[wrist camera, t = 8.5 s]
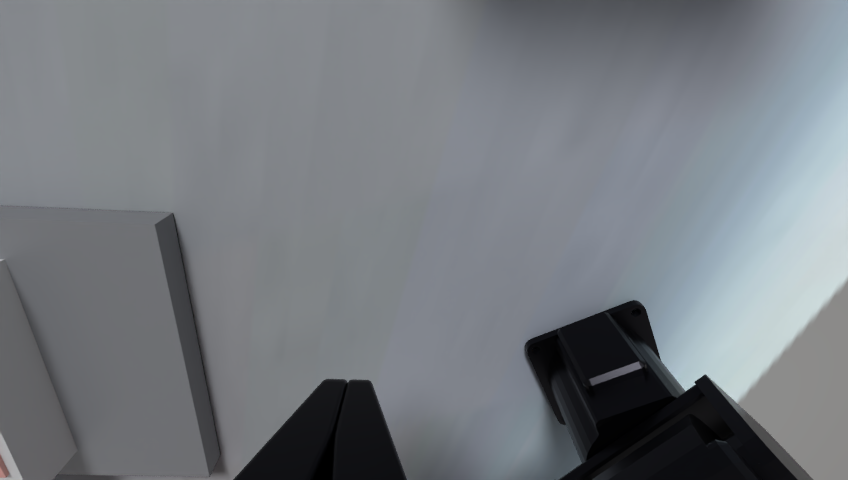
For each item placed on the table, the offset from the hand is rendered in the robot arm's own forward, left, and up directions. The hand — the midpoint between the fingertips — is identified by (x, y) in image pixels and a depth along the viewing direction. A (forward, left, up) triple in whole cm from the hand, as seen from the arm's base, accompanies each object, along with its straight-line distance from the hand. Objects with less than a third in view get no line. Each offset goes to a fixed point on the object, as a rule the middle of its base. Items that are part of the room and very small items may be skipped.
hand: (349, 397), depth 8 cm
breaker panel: (0, +21, -13) cm, 25 cm away
